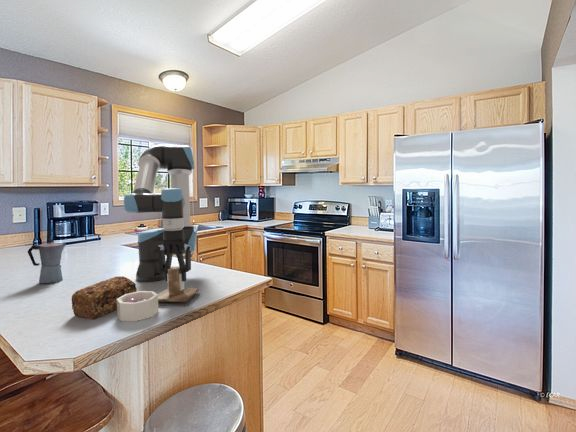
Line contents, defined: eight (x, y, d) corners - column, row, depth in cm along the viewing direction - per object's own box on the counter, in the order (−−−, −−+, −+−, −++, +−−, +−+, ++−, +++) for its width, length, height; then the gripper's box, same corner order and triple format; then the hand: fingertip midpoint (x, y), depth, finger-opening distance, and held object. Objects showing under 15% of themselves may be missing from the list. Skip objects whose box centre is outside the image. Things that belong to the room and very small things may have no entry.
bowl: (110, 320, 104) (109, 302, 104) (132, 306, 116) (131, 290, 116) (145, 321, 103) (144, 303, 102) (163, 307, 115) (162, 291, 114)
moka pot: (73, 278, 154) (70, 237, 152) (37, 287, 140) (33, 242, 138) (61, 276, 158) (58, 236, 156) (25, 285, 144) (21, 241, 142)
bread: (118, 298, 125) (117, 273, 125) (138, 302, 121) (137, 276, 120) (70, 316, 108) (68, 288, 107) (92, 321, 104) (90, 291, 103)
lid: (151, 300, 117) (150, 272, 116) (168, 289, 130) (167, 263, 129) (185, 301, 116) (184, 272, 115) (199, 290, 129) (198, 264, 128)
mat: (150, 305, 117) (150, 304, 117) (167, 293, 130) (167, 292, 130) (187, 306, 116) (187, 305, 116) (200, 294, 129) (200, 293, 129)
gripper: (146, 230, 118) (150, 291, 120) (191, 230, 116) (193, 293, 118) (157, 227, 125) (160, 285, 127) (199, 227, 124) (201, 286, 126)
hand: (176, 289), depth 123 cm, fingers closed on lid, 4 cm apart
